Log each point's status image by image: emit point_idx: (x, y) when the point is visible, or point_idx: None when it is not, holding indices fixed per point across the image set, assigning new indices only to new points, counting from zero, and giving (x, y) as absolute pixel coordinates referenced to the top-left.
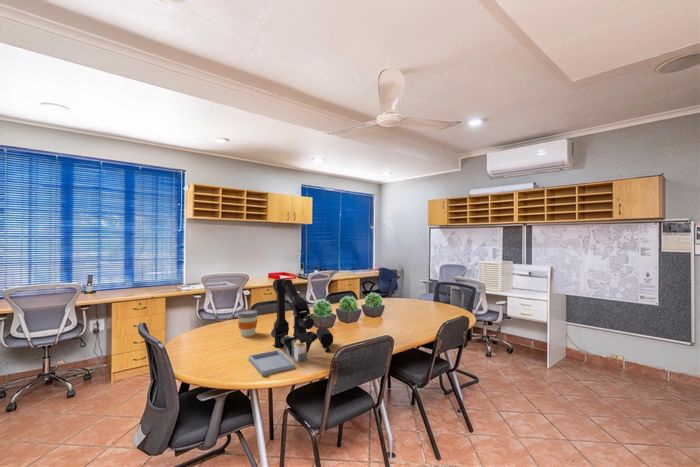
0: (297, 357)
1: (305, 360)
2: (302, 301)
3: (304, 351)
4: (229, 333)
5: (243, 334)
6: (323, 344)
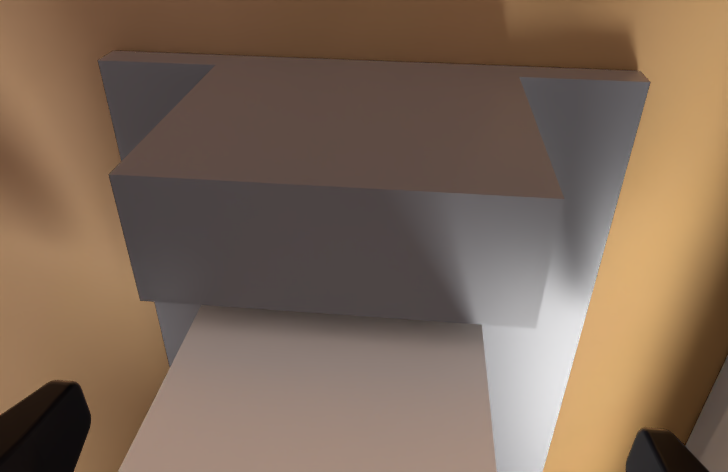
0: None
1: (267, 72)
2: None
3: (167, 380)
4: None
5: None
6: None
